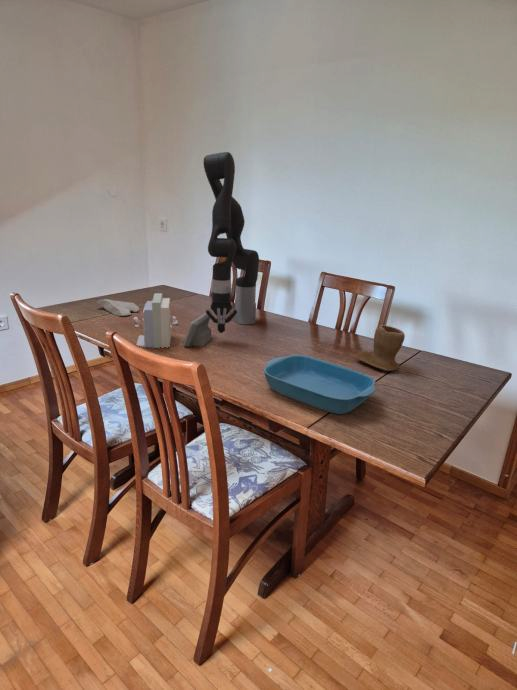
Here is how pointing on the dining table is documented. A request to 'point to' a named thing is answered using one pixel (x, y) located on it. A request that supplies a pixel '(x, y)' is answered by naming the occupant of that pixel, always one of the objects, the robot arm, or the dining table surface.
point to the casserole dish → (319, 383)
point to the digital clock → (198, 332)
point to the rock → (118, 307)
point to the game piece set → (142, 319)
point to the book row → (156, 323)
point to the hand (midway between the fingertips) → (221, 332)
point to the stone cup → (384, 348)
